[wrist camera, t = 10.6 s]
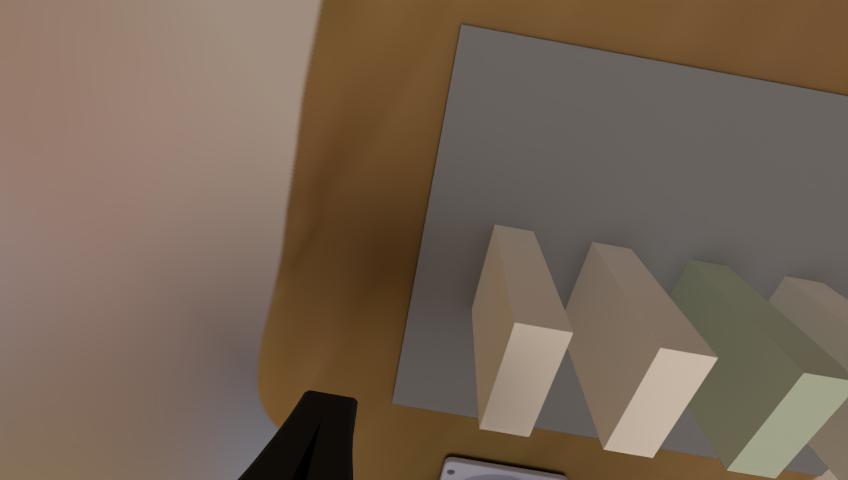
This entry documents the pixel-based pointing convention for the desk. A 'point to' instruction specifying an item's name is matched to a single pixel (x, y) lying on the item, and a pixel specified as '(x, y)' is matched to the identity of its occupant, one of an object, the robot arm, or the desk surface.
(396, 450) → the desk surface
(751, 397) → the sage domino
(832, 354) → the domino
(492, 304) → the domino
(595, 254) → the domino
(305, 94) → the desk surface
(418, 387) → the charcoal mat
